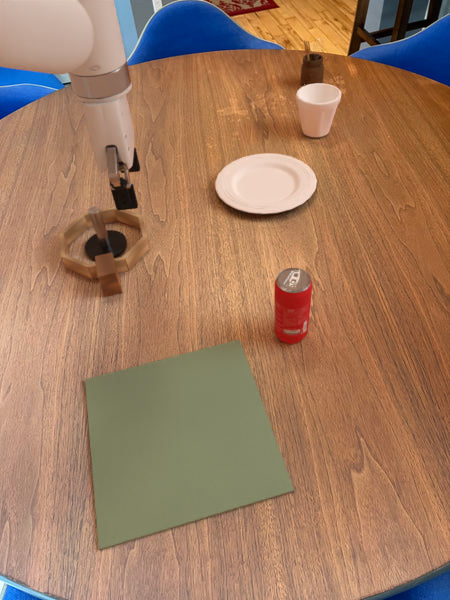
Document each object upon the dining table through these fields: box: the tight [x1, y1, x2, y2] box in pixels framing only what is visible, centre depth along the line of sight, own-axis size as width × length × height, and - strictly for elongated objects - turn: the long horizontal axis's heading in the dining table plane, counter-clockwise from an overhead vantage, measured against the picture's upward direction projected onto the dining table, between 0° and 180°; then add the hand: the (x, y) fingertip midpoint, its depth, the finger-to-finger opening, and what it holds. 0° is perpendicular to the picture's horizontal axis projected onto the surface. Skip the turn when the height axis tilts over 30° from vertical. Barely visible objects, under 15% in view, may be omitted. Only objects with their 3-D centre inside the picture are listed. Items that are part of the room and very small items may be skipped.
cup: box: [295, 82, 342, 139], centre depth 109 cm, size 10×10×9 cm
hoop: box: [58, 206, 151, 297], centre depth 87 cm, size 16×21×5 cm
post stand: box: [84, 206, 128, 261], centre depth 88 cm, size 8×8×9 cm
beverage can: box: [273, 267, 313, 345], centre depth 70 cm, size 5×5×12 cm
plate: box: [214, 152, 318, 216], centre depth 99 cm, size 21×21×2 cm
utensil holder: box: [300, 37, 325, 87], centre depth 124 cm, size 6×6×12 cm
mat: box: [84, 338, 295, 551], centre depth 65 cm, size 24×24×1 cm
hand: (129, 189), depth 74 cm, fingers open, 9 cm apart
